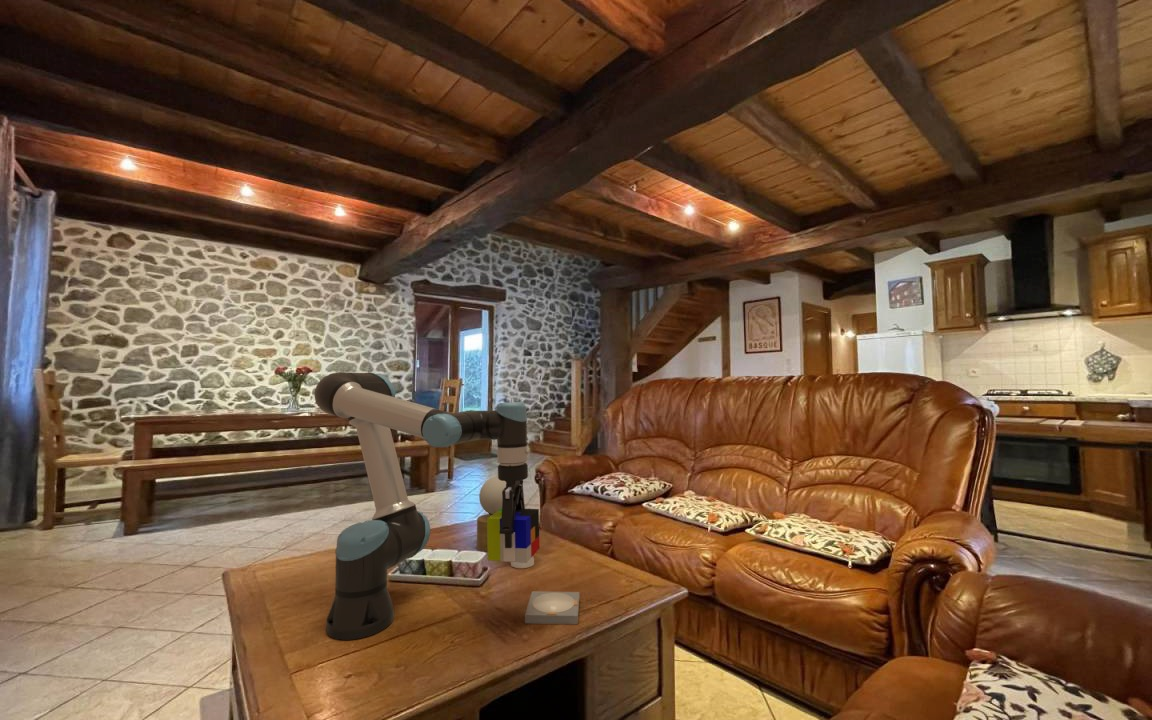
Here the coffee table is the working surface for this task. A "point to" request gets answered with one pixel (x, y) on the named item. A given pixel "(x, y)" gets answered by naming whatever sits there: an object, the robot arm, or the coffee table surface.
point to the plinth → (553, 608)
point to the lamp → (488, 507)
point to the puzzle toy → (524, 535)
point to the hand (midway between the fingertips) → (514, 552)
